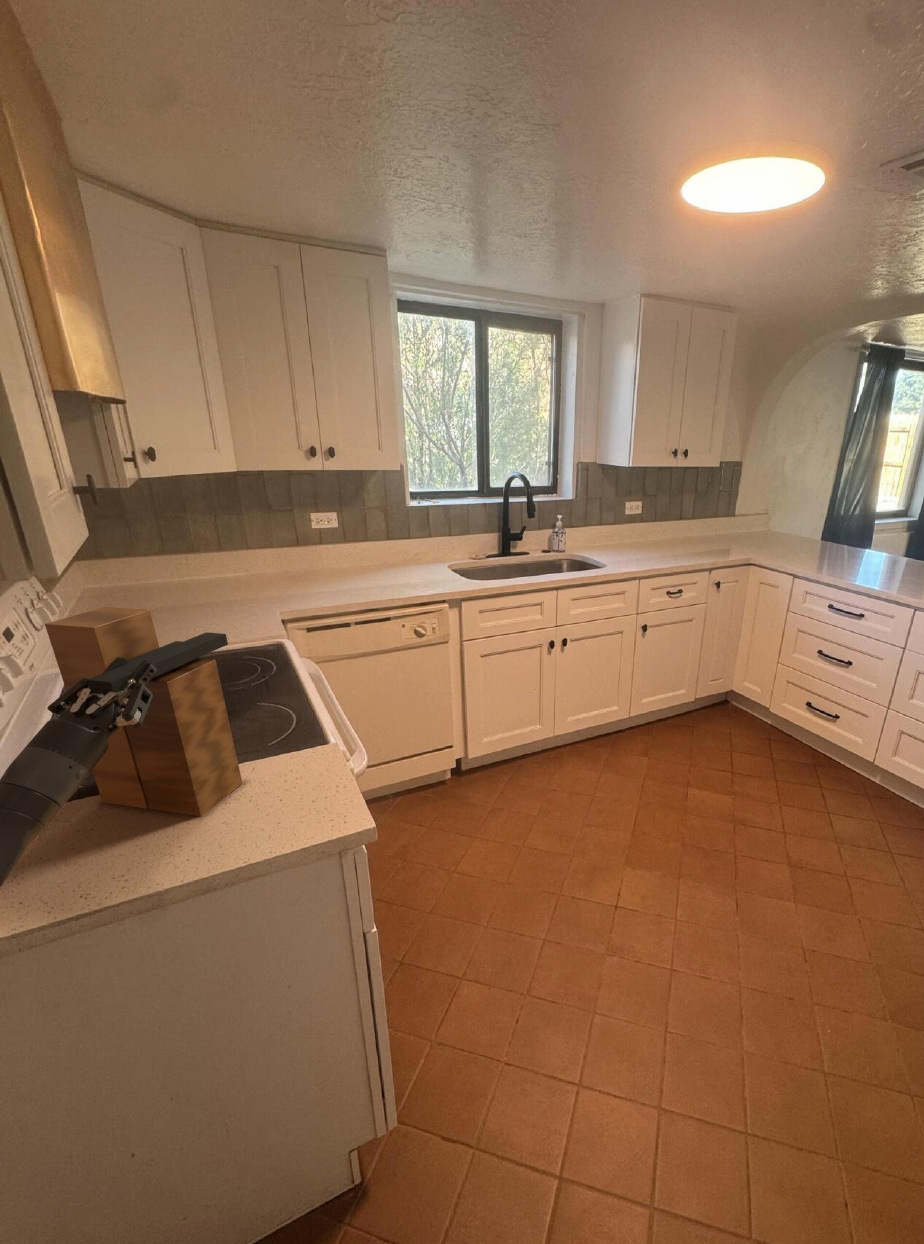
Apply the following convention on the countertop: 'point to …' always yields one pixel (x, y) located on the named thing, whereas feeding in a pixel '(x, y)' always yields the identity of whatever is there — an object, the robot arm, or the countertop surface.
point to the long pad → (159, 661)
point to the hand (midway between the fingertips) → (137, 662)
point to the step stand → (153, 717)
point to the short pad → (154, 651)
